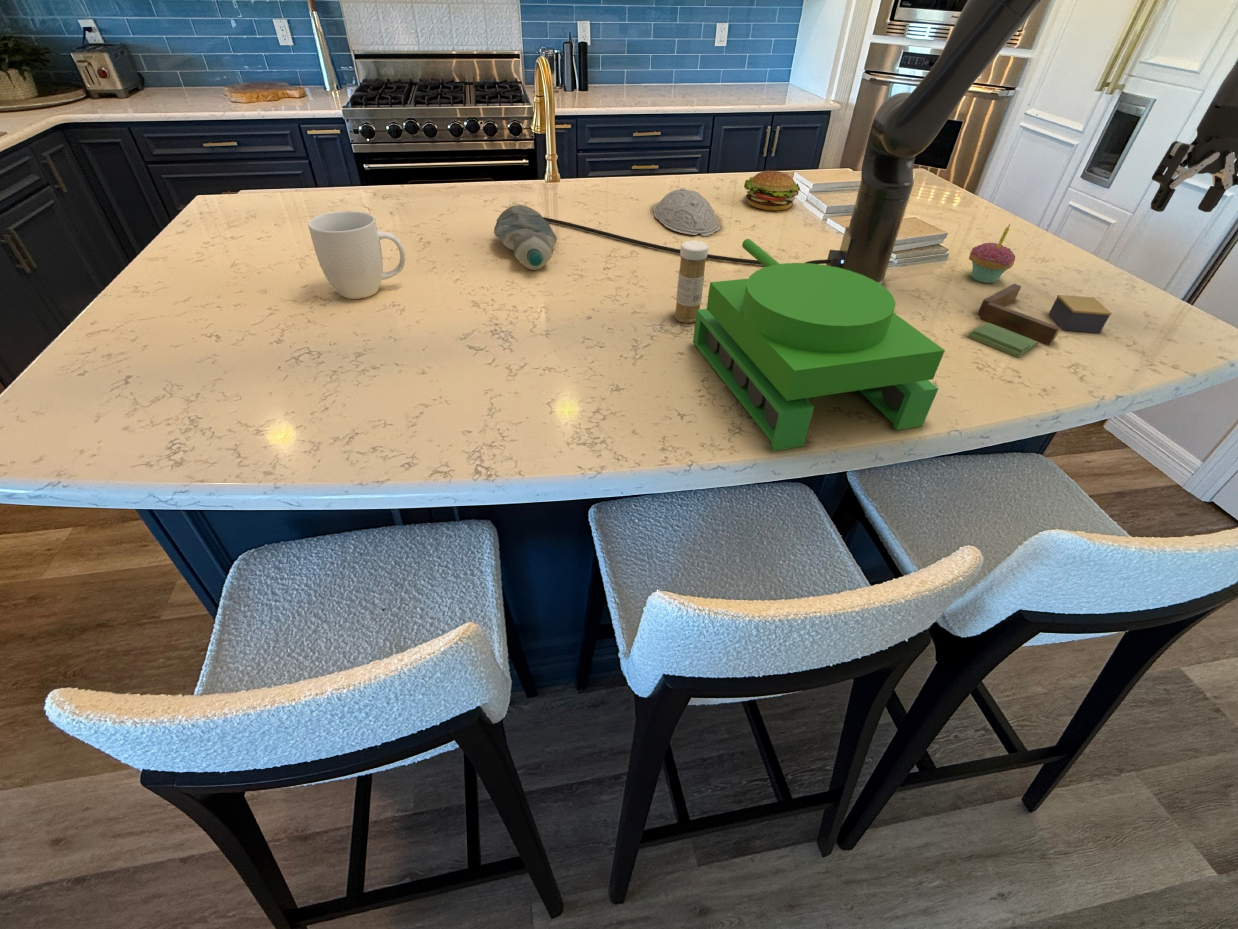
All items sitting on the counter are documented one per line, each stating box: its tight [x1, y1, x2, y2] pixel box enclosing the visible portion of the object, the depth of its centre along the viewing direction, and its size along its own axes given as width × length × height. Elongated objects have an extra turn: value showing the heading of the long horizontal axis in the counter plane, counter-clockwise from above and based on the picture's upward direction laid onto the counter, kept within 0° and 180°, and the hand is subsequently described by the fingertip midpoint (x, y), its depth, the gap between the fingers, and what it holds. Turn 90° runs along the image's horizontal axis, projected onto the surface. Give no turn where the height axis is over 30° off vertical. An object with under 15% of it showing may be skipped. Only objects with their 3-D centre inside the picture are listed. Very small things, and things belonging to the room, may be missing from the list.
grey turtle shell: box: [653, 187, 721, 237], centre depth 153 cm, size 16×25×7 cm, turn 8°
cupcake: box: [968, 223, 1016, 284], centre depth 128 cm, size 9×8×12 cm
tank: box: [692, 238, 946, 452], centre depth 94 cm, size 24×35×16 cm
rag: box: [967, 321, 1039, 358], centre depth 110 cm, size 9×7×1 cm
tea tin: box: [1047, 294, 1113, 334], centre depth 116 cm, size 7×7×4 cm
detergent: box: [493, 204, 558, 271], centre depth 131 cm, size 13×7×25 cm
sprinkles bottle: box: [674, 240, 709, 324], centre depth 109 cm, size 5×5×14 cm
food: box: [743, 170, 801, 212], centre depth 163 cm, size 14×14×8 cm
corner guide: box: [977, 283, 1062, 346], centre depth 117 cm, size 10×19×3 cm, turn 174°
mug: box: [307, 210, 406, 300], centre depth 113 cm, size 15×11×13 cm
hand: (1179, 210), depth 107 cm, fingers open, 8 cm apart
